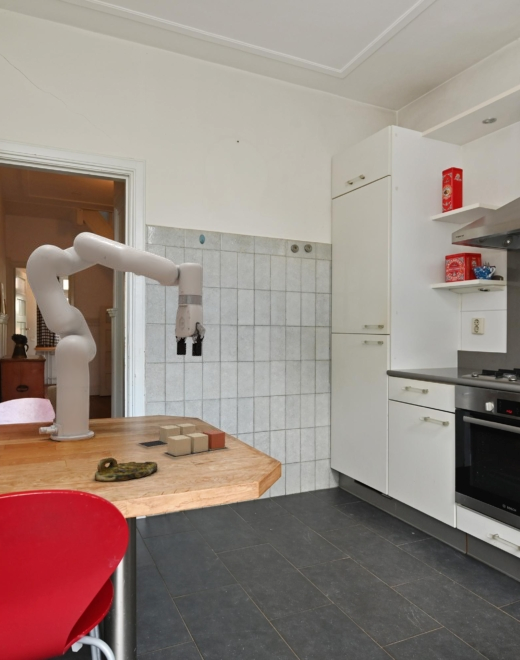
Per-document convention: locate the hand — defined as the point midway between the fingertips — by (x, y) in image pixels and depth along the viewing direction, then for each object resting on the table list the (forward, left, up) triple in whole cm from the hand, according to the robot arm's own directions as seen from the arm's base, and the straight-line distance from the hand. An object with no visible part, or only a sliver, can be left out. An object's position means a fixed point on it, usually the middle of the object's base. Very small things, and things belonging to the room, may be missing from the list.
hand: (188, 355), depth 152 cm
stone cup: (-24, +42, -26) cm, 55 cm away
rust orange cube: (-4, -20, -25) cm, 32 cm away
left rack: (-9, -5, -26) cm, 28 cm away
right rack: (-9, -20, -26) cm, 34 cm away
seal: (-33, -29, -26) cm, 51 cm away
